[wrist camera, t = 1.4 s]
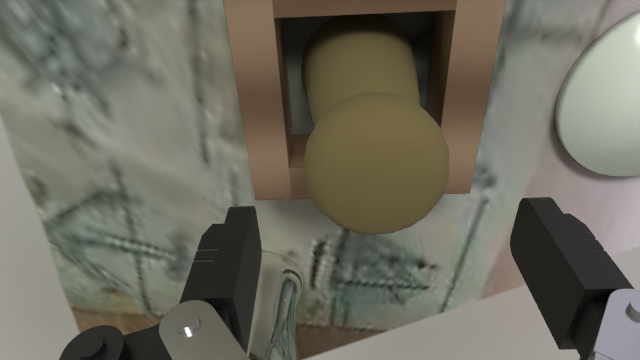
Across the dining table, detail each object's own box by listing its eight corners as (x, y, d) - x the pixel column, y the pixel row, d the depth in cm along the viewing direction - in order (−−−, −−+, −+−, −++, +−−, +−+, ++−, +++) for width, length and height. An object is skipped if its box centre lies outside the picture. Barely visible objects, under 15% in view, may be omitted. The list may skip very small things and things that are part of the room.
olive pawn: (423, 104, 25) (482, 240, 16) (320, 132, 26) (319, 274, 17) (403, -6, 21) (463, 87, 12) (285, 31, 22) (261, 141, 13)
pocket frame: (232, -46, 20) (218, -32, 17) (487, -59, 20) (514, -46, 17) (262, 165, 27) (255, 200, 24) (453, 158, 27) (469, 193, 24)
